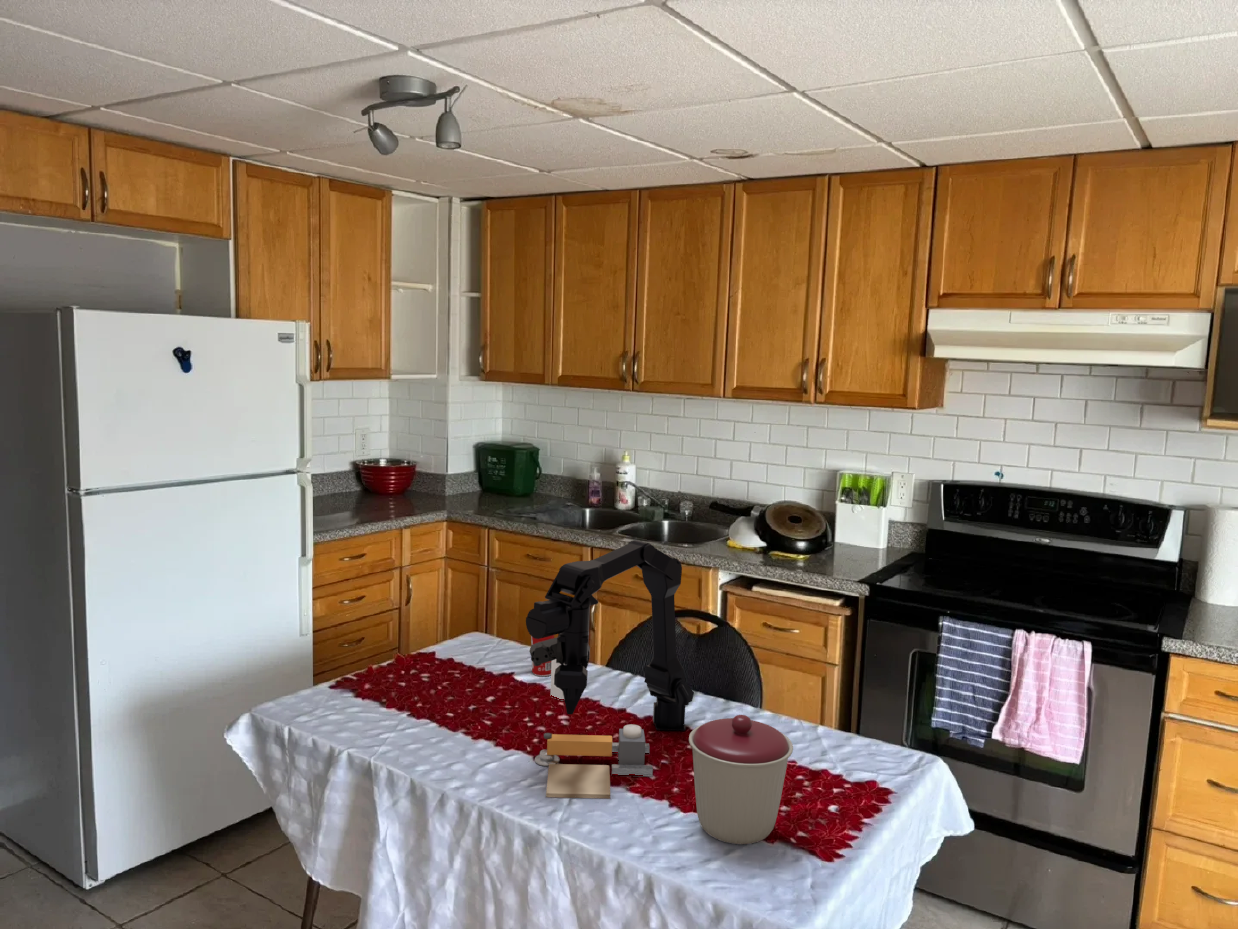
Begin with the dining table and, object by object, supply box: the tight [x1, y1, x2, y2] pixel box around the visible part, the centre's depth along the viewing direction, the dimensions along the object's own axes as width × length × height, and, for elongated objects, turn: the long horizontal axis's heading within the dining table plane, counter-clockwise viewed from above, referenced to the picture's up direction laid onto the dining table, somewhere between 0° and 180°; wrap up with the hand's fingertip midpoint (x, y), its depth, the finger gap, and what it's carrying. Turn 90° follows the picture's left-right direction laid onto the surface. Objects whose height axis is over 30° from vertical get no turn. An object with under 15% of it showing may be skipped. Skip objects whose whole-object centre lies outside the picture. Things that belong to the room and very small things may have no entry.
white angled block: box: [550, 659, 564, 700], centre depth 223 cm, size 4×10×9 cm, turn 143°
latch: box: [543, 732, 613, 757], centre depth 189 cm, size 14×3×4 cm, turn 92°
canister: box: [688, 714, 794, 845], centre depth 165 cm, size 18×18×21 cm
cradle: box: [534, 742, 654, 777], centre depth 190 cm, size 24×12×2 cm, turn 92°
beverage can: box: [530, 635, 555, 677], centre depth 237 cm, size 6×6×15 cm
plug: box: [617, 724, 646, 765], centre depth 190 cm, size 5×6×8 cm
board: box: [545, 763, 611, 800], centre depth 181 cm, size 12×12×1 cm
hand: (571, 705), depth 186 cm, fingers open, 9 cm apart
